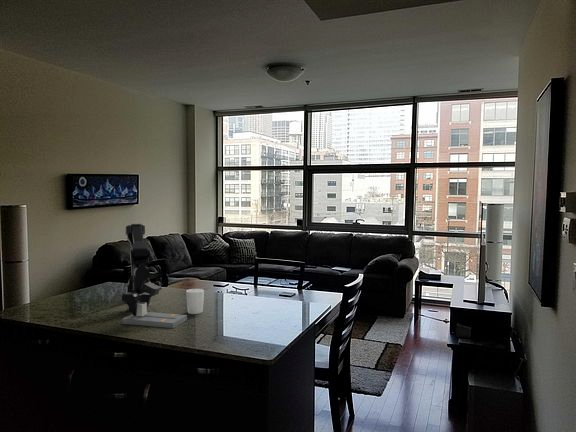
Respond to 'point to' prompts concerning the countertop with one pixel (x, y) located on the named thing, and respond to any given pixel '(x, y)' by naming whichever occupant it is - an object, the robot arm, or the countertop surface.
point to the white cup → (195, 300)
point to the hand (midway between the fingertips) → (140, 313)
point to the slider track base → (156, 320)
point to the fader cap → (141, 309)
